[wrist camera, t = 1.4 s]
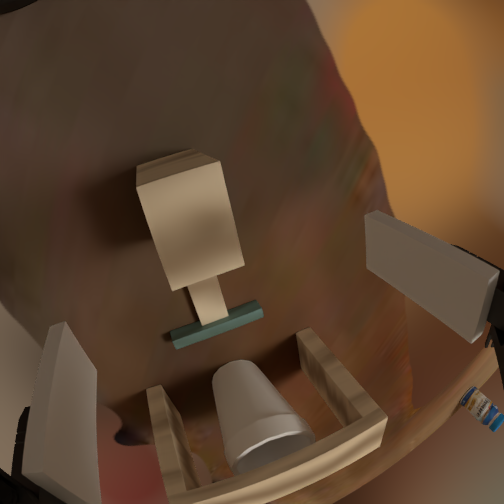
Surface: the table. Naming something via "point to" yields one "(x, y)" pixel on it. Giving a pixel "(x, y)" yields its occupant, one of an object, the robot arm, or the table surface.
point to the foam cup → (255, 418)
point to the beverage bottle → (482, 408)
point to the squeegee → (194, 238)
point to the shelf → (289, 467)
